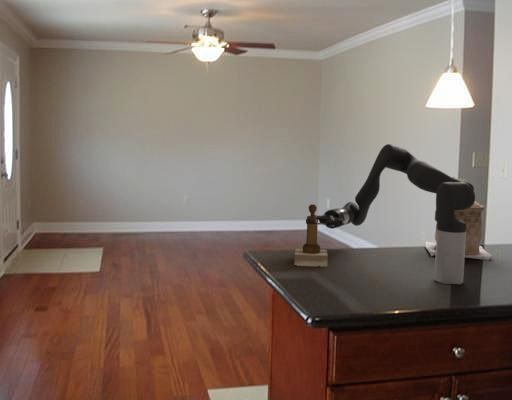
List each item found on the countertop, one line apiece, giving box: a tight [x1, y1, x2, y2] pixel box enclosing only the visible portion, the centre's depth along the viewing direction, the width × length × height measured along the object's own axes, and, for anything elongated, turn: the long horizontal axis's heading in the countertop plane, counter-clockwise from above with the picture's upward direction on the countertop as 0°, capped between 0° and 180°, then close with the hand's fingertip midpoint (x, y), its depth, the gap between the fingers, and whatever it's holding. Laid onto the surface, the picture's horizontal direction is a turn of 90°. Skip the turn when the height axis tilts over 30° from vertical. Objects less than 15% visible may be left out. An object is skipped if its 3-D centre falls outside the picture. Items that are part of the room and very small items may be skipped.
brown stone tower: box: [424, 176, 493, 261], centre depth 241 cm, size 25×25×32 cm
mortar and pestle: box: [302, 204, 321, 254], centre depth 217 cm, size 7×6×18 cm
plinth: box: [293, 247, 329, 268], centre depth 218 cm, size 12×12×4 cm
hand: (316, 222), depth 220 cm, fingers open, 8 cm apart
